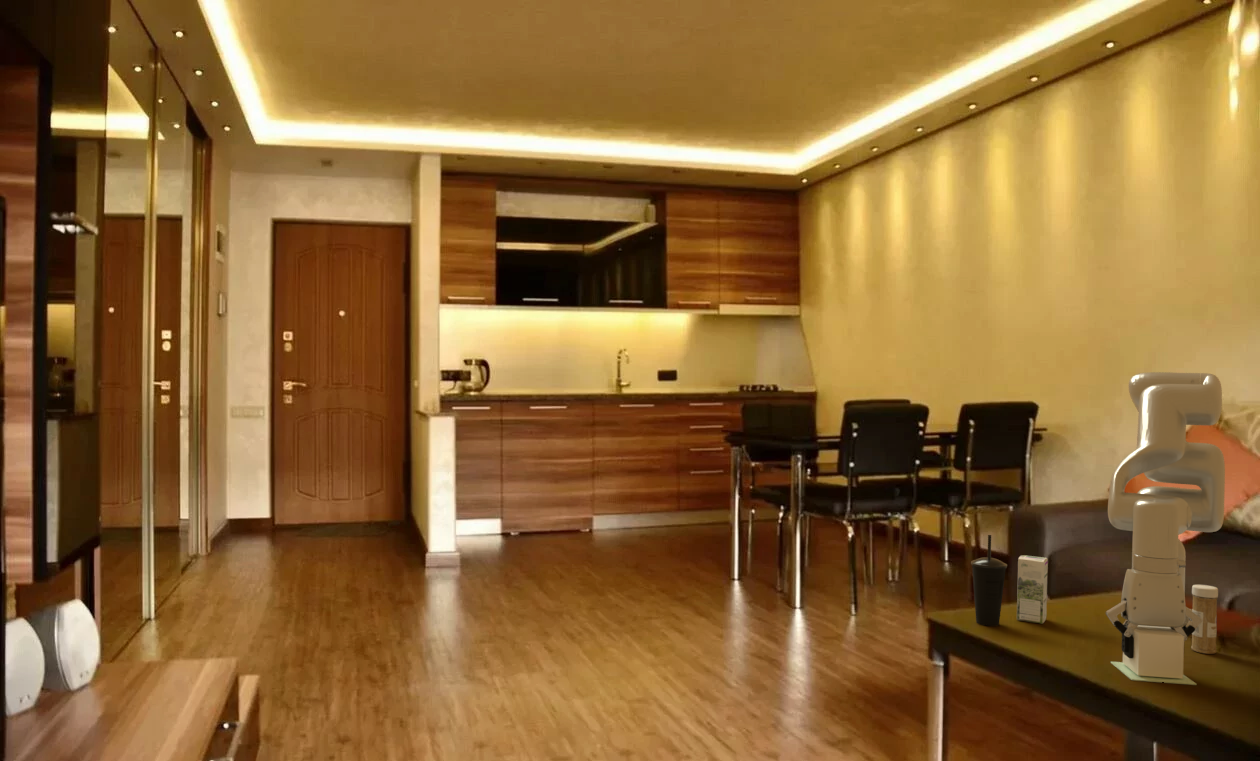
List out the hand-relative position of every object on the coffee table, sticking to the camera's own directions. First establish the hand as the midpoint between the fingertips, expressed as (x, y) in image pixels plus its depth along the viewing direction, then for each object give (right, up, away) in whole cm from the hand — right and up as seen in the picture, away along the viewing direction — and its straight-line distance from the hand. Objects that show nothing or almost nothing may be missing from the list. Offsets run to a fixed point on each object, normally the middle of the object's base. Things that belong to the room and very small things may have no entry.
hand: (1152, 657), depth 173 cm
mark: (0, -3, 0) cm, 3 cm away
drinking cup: (-18, -3, +34) cm, 39 cm away
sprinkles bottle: (+20, -4, +16) cm, 26 cm away
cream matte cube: (0, -3, 0) cm, 3 cm away
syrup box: (-6, -3, +38) cm, 39 cm away
